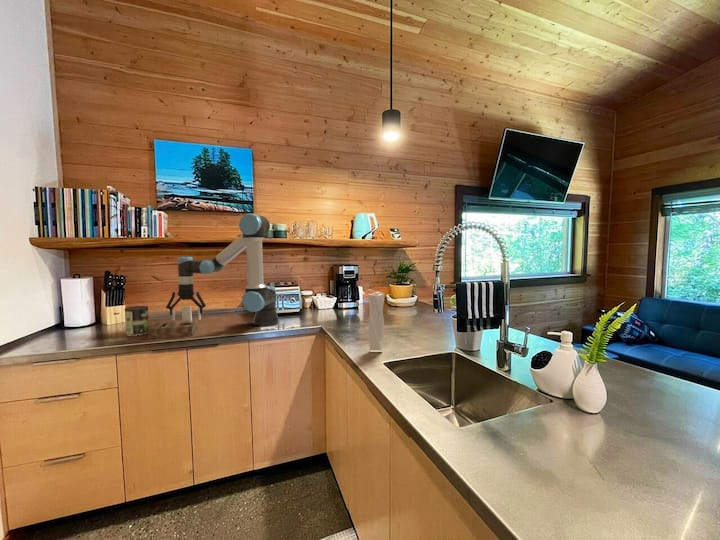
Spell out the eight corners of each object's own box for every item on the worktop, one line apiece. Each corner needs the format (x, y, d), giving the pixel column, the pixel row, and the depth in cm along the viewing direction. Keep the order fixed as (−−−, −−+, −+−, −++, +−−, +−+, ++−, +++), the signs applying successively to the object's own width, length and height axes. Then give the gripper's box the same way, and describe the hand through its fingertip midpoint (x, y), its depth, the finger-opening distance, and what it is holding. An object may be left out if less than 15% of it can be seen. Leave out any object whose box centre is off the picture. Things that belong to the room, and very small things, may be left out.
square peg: (191, 326, 188) (191, 305, 187) (190, 327, 184) (189, 307, 183) (184, 326, 187) (183, 306, 186) (182, 328, 183) (181, 307, 182)
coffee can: (152, 330, 176) (151, 305, 176) (143, 335, 166) (142, 309, 165) (132, 331, 175) (131, 306, 174) (121, 336, 165) (120, 309, 164)
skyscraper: (366, 353, 139) (367, 289, 137) (366, 348, 147) (366, 287, 145) (385, 353, 139) (385, 289, 137) (383, 348, 147) (384, 287, 145)
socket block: (197, 329, 180) (197, 320, 179) (192, 336, 166) (192, 326, 166) (157, 332, 174) (157, 322, 174) (148, 338, 161) (147, 329, 160)
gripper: (210, 282, 191) (211, 317, 192) (163, 283, 184) (164, 319, 185) (208, 283, 184) (209, 320, 185) (159, 284, 177) (160, 322, 178)
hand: (186, 320), depth 185 cm, fingers open, 13 cm apart
